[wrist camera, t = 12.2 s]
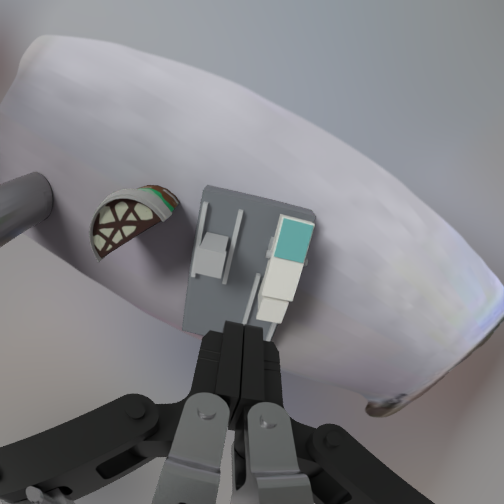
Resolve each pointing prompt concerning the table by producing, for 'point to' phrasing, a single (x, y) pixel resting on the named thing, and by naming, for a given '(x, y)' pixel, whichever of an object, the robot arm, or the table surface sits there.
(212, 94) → the table surface
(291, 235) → the rocker
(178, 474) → the robot arm
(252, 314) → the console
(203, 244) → the grey slider
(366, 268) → the table surface
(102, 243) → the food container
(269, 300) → the white slider
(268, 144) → the table surface
